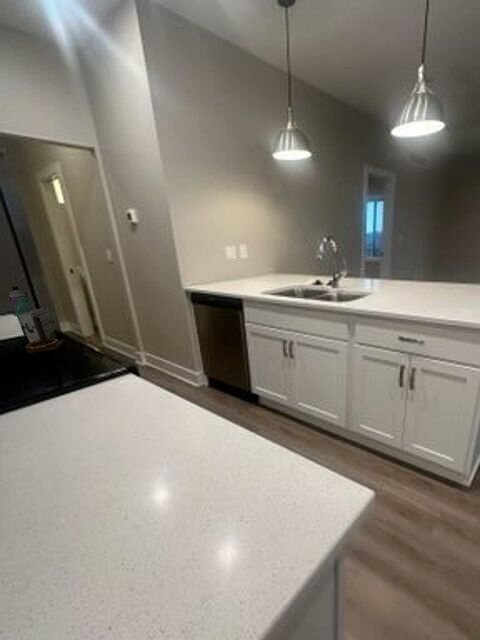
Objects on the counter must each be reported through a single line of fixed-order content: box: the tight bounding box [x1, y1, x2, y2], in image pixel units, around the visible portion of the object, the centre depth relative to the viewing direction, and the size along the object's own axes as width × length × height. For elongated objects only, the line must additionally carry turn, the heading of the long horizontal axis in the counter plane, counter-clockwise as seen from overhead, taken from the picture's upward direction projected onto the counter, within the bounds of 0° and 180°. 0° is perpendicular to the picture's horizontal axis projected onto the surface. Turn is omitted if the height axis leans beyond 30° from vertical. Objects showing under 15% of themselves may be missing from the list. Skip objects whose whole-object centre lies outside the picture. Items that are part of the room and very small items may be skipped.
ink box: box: [19, 307, 58, 343], centre depth 131 cm, size 9×5×12 cm, turn 178°
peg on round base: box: [26, 317, 65, 354], centre depth 122 cm, size 9×9×12 cm
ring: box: [24, 337, 59, 350], centre depth 123 cm, size 9×9×1 cm
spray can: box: [8, 285, 33, 337], centre depth 138 cm, size 6×6×20 cm
